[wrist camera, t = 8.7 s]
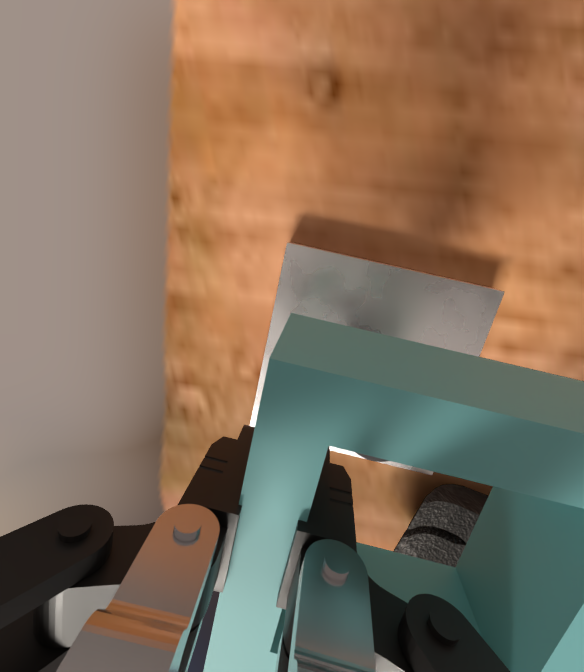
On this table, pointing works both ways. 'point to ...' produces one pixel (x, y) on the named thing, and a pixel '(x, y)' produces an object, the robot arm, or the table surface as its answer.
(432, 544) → the hammer
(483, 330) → the stand
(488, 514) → the collar
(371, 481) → the table surface
